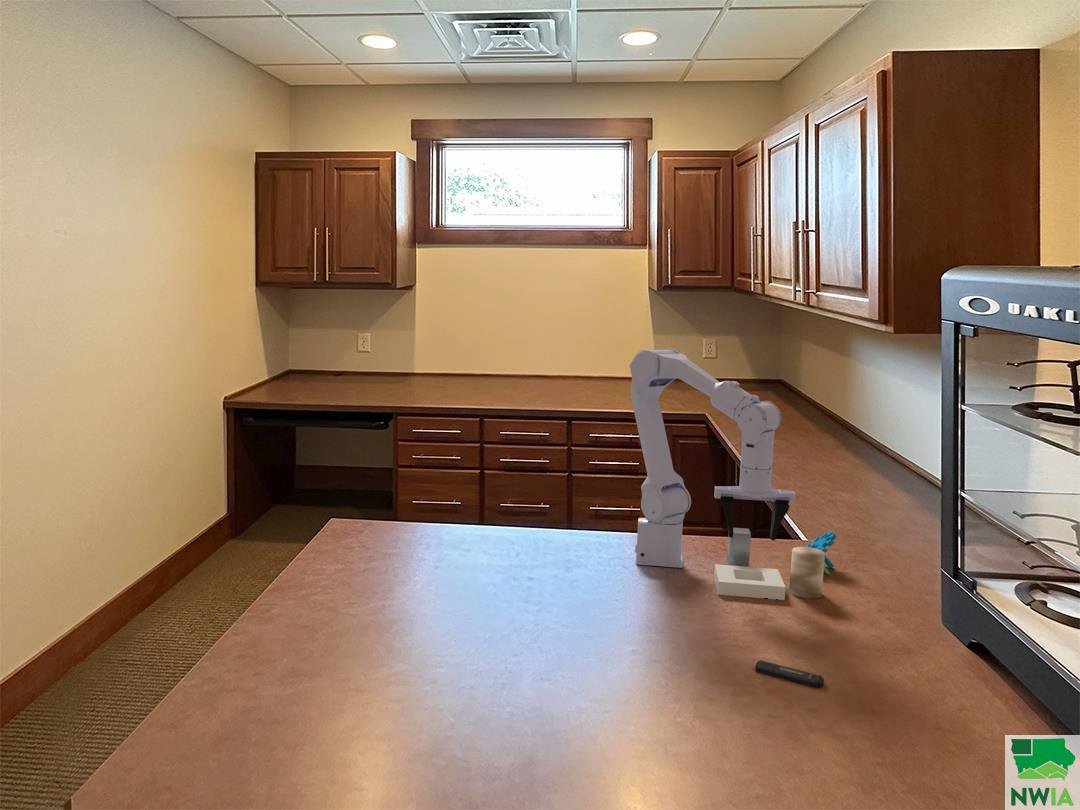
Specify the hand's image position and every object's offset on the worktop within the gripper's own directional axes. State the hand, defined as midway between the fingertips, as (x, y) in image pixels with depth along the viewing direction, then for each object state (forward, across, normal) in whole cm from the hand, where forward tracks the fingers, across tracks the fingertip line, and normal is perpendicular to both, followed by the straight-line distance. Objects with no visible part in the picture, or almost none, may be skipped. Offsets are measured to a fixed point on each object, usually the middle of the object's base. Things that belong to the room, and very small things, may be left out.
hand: (751, 537), depth 148 cm
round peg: (+10, +10, 0) cm, 14 cm away
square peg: (+10, -1, +11) cm, 15 cm away
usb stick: (+10, +2, -36) cm, 38 cm away
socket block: (+10, 0, 0) cm, 10 cm away
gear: (+10, +15, +16) cm, 24 cm away
